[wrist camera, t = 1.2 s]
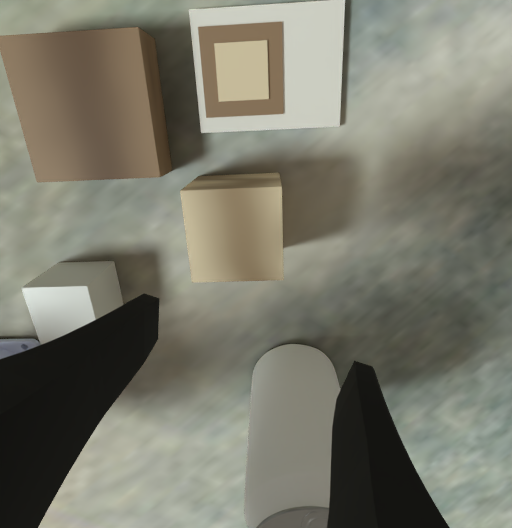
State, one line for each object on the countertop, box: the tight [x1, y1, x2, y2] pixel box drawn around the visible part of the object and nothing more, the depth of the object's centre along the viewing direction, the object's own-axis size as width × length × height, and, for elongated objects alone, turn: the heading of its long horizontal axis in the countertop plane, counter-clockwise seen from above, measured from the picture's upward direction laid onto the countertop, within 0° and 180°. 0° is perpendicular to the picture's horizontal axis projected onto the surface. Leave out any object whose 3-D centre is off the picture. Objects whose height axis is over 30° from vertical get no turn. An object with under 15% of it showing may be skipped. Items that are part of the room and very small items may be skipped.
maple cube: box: [180, 173, 284, 283], centre depth 20 cm, size 5×5×5 cm
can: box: [244, 344, 341, 528], centre depth 22 cm, size 6×6×12 cm
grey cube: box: [22, 261, 124, 344], centre depth 23 cm, size 4×4×4 cm
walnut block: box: [0, 27, 172, 182], centre depth 20 cm, size 7×7×3 cm
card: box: [189, 0, 345, 133], centre depth 19 cm, size 8×6×1 cm
